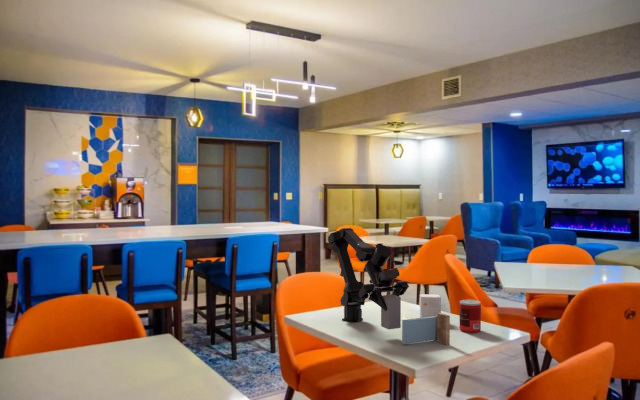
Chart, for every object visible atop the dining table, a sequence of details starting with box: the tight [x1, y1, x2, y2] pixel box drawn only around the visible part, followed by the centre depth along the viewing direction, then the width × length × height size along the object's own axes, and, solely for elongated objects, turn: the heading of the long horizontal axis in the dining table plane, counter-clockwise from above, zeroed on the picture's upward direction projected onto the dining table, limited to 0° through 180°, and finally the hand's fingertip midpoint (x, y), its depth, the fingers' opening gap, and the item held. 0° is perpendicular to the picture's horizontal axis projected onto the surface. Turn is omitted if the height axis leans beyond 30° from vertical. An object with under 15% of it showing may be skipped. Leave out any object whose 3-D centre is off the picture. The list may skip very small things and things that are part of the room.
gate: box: [401, 316, 437, 345], centre depth 172 cm, size 15×1×8 cm, turn 115°
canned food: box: [459, 299, 482, 334], centre depth 187 cm, size 8×8×11 cm
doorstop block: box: [380, 294, 402, 330], centre depth 177 cm, size 5×5×11 cm
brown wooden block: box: [436, 312, 451, 346], centre depth 171 cm, size 5×1×10 cm, turn 25°
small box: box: [419, 293, 442, 318], centre depth 201 cm, size 8×6×10 cm
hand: (392, 309), depth 176 cm, fingers closed on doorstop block, 5 cm apart
